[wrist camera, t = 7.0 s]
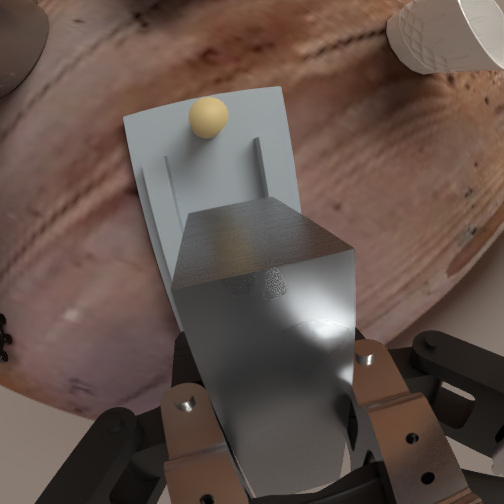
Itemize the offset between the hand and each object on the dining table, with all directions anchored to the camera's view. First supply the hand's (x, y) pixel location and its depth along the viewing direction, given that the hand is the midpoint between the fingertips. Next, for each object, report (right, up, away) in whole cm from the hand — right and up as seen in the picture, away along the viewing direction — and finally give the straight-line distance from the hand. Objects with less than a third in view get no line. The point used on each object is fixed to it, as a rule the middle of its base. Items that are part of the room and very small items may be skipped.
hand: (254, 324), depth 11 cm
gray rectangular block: (0, 0, +1) cm, 1 cm away
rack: (-2, +4, +11) cm, 12 cm away
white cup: (+15, +22, +8) cm, 28 cm away
